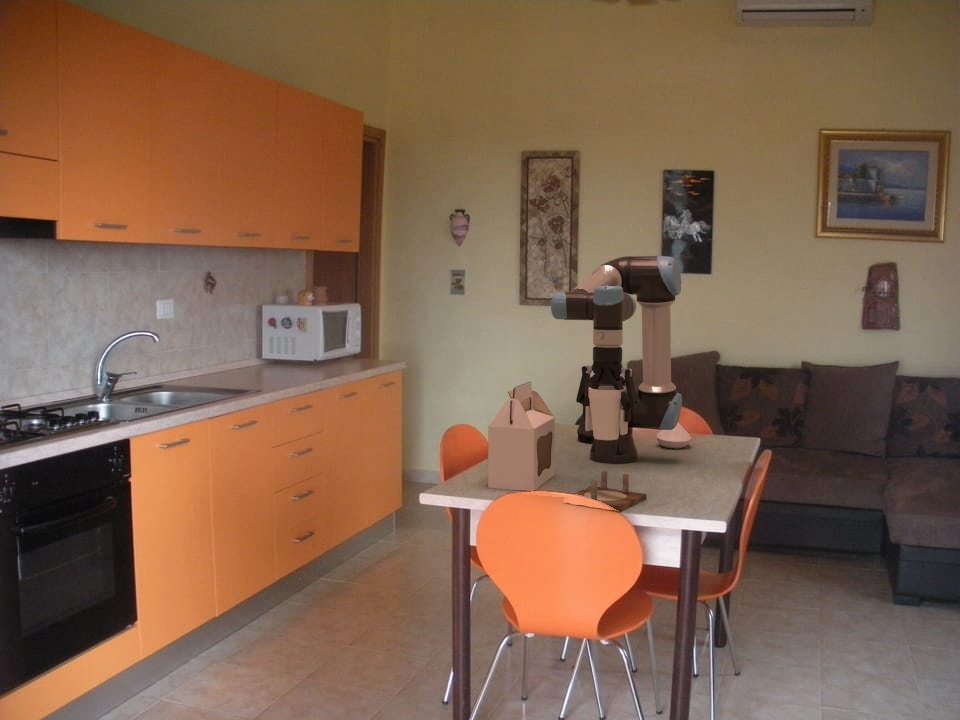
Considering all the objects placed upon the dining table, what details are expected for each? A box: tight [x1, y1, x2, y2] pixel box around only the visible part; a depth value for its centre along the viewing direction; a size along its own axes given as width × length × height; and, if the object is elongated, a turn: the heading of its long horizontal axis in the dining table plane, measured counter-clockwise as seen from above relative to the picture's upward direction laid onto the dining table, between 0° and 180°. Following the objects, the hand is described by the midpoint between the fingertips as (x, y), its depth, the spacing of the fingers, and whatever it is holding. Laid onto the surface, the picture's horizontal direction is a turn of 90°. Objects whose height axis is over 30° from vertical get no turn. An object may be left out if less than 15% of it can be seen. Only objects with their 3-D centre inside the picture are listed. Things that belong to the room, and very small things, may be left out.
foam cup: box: [588, 386, 625, 440], centre depth 244 cm, size 10×9×13 cm
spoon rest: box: [655, 421, 692, 450], centre depth 327 cm, size 24×12×7 cm, turn 170°
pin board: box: [572, 470, 647, 513], centre depth 246 cm, size 16×16×6 cm
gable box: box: [487, 381, 556, 491], centre depth 268 cm, size 22×13×28 cm, turn 160°
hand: (606, 432), depth 244 cm, fingers closed on foam cup, 9 cm apart
